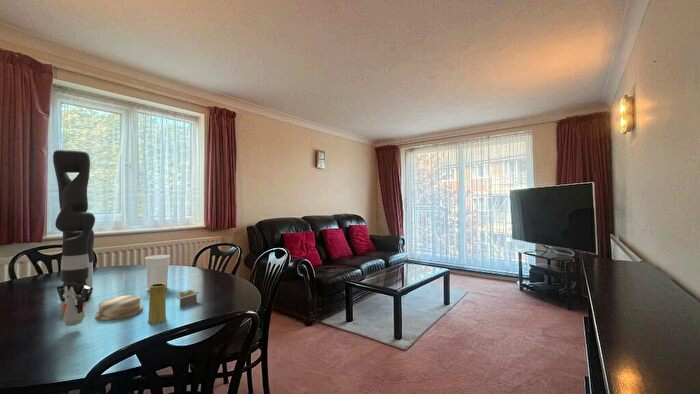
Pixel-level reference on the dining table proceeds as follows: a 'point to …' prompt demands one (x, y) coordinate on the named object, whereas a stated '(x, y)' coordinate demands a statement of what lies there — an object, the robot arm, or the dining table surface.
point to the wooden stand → (119, 307)
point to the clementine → (65, 306)
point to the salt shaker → (72, 311)
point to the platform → (187, 297)
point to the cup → (157, 269)
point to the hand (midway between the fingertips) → (74, 313)
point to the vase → (157, 303)
